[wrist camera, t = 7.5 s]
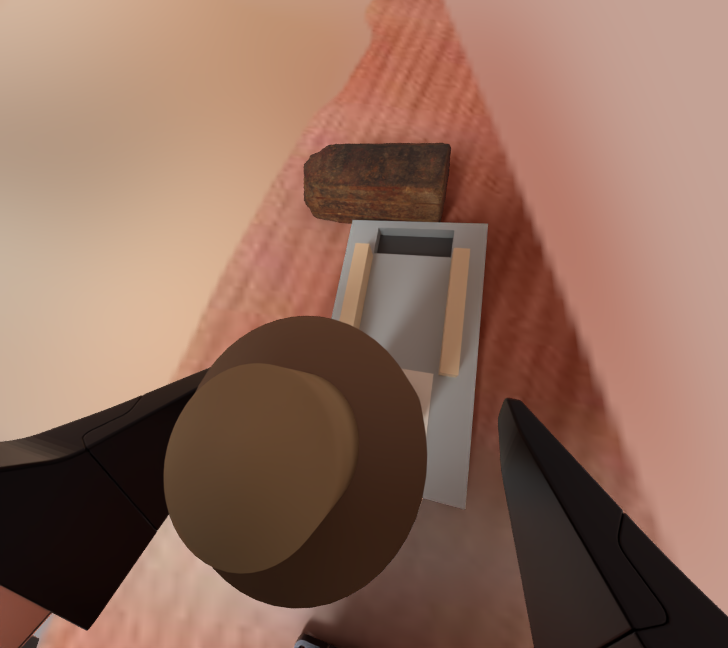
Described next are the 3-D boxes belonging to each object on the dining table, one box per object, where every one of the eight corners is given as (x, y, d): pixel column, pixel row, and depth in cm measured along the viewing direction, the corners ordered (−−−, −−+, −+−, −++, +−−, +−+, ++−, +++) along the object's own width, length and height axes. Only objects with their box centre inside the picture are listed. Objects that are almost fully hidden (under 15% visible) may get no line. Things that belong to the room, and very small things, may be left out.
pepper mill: (416, 453, 16) (396, 807, 2) (348, 437, 16) (41, 606, 3) (425, 381, 16) (451, 306, 3) (360, 370, 17) (166, 277, 4)
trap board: (462, 501, 16) (470, 523, 13) (307, 460, 18) (287, 471, 15) (484, 233, 20) (494, 208, 17) (356, 229, 22) (347, 206, 20)
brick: (447, 191, 22) (453, 138, 17) (438, 234, 21) (443, 189, 16) (327, 186, 24) (307, 138, 20) (316, 223, 23) (291, 182, 19)
